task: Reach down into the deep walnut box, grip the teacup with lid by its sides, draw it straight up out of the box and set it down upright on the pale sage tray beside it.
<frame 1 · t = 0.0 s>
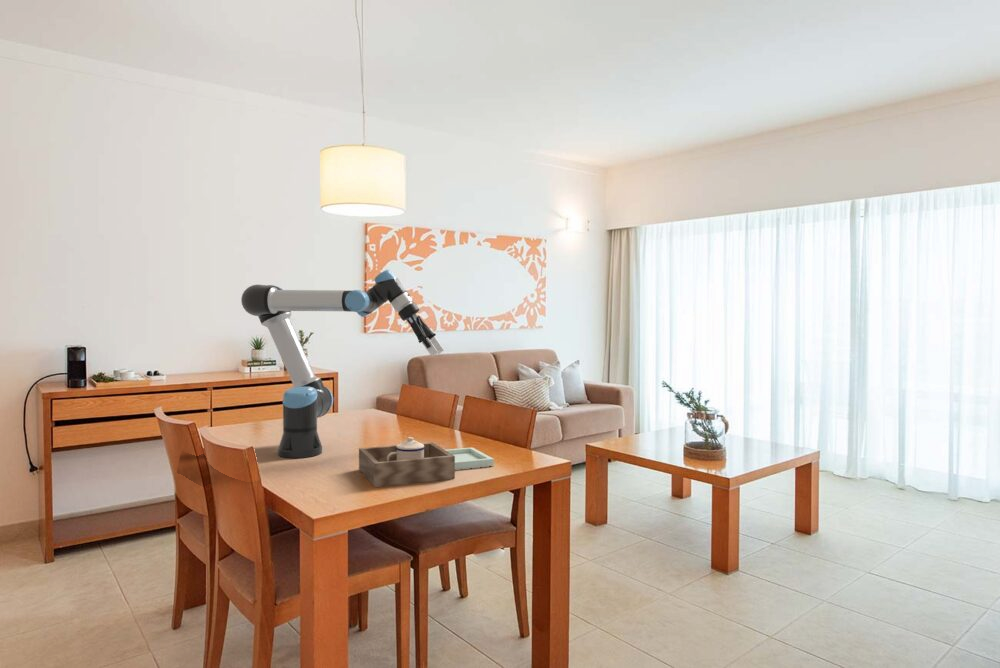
hand: (438, 353, 237), 36 cm above the table, tool tilted 35°, fingers open, 13 cm apart
deep box: (405, 474, 201), on the table
teacup with lid: (405, 474, 201), resting in deep box
tray: (461, 462, 218), on the table
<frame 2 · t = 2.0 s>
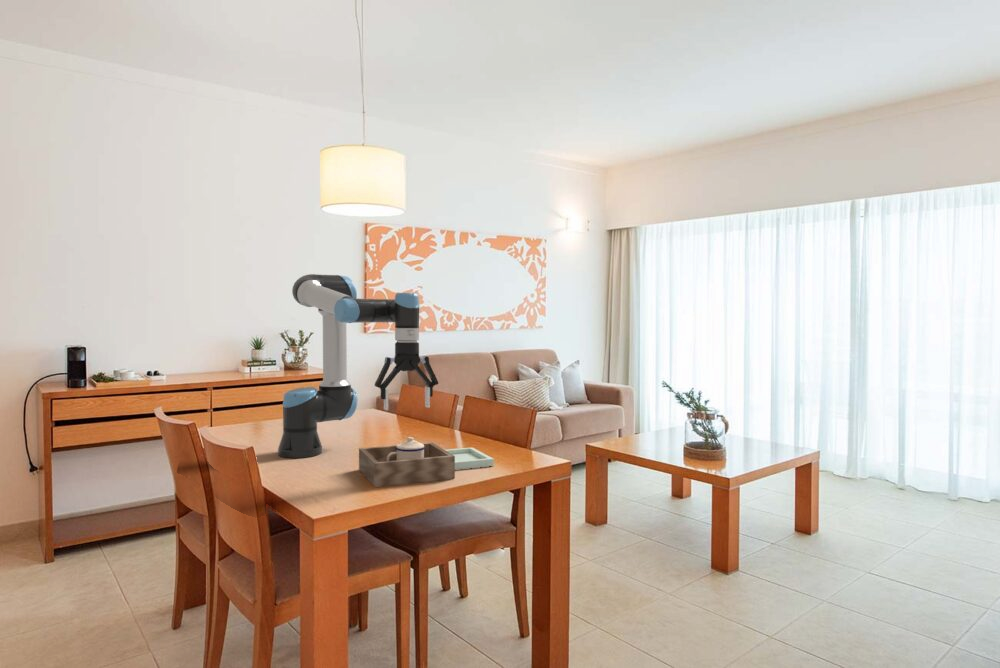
hand: (407, 408, 201), 21 cm above the table, tool pointing down, fingers open, 13 cm apart
nothing on the table moved.
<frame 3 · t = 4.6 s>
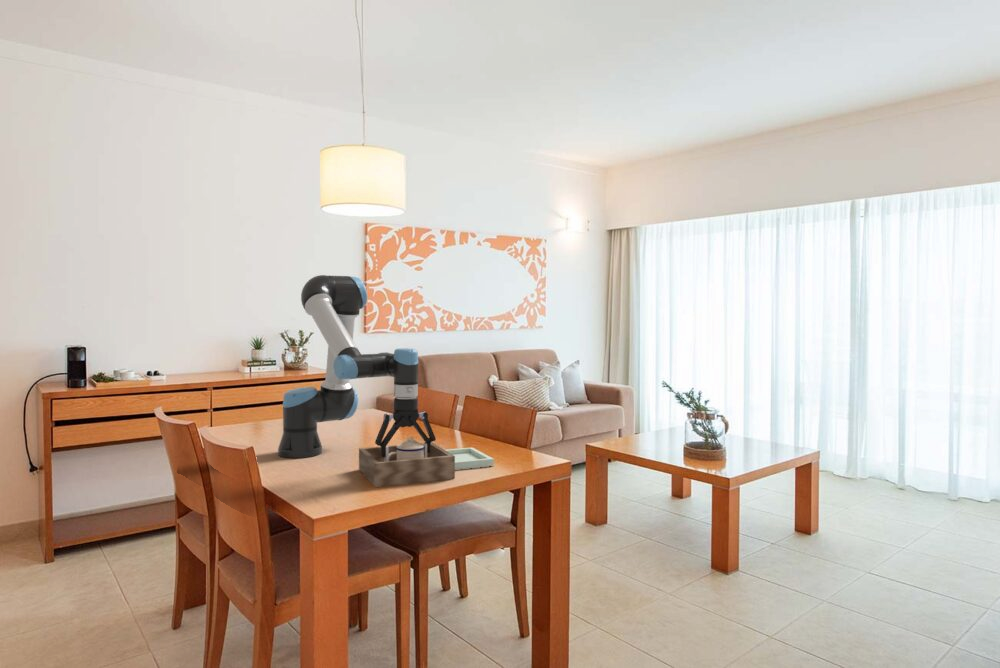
hand: (405, 465, 201), 3 cm above the table, tool pointing down, fingers closed on teacup with lid, 12 cm apart
teacup with lid: (405, 474, 201), resting in deep box, touching gripper
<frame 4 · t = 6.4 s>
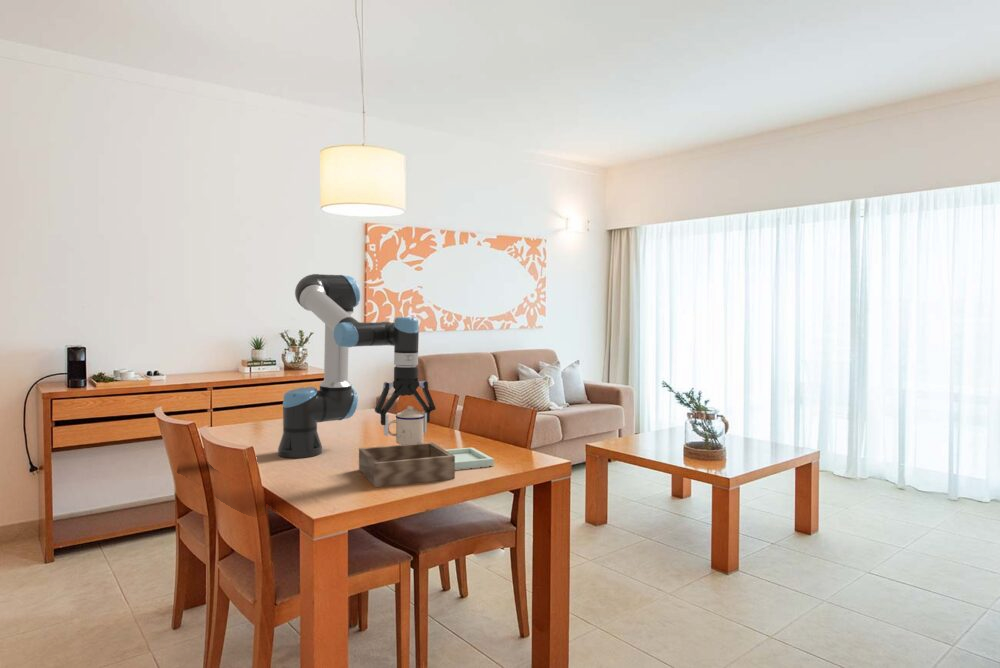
hand: (405, 433, 201), 13 cm above the table, tool pointing down, fingers closed on teacup with lid, 12 cm apart
teacup with lid: (405, 443, 201), point 10 cm above the table, touching gripper
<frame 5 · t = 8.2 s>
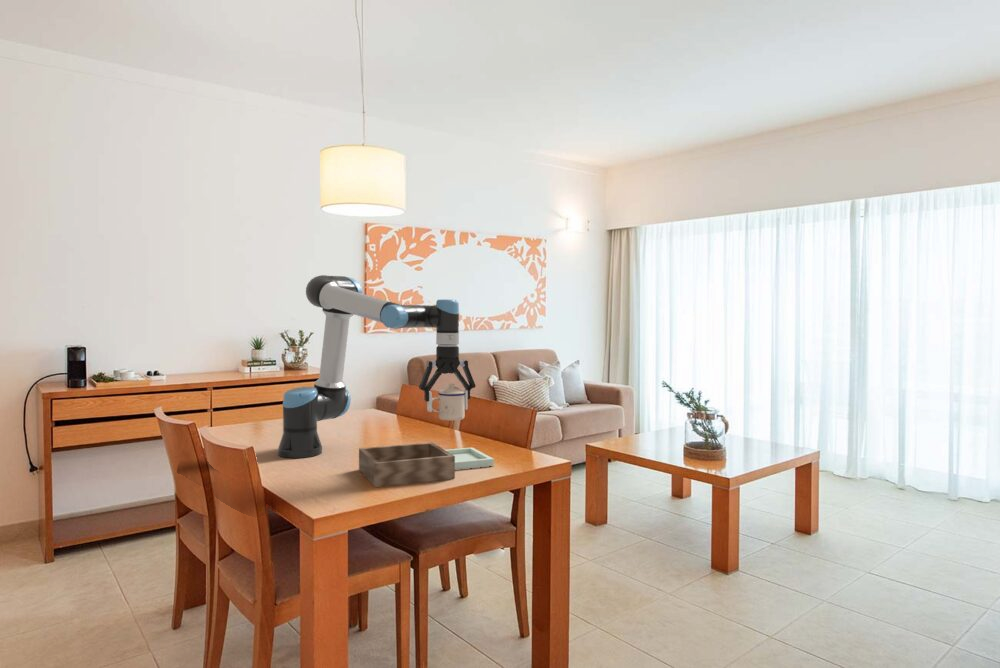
hand: (447, 410, 212), 19 cm above the table, tool pointing down, fingers closed on teacup with lid, 12 cm apart
teacup with lid: (447, 419, 212), point 16 cm above the table, touching gripper
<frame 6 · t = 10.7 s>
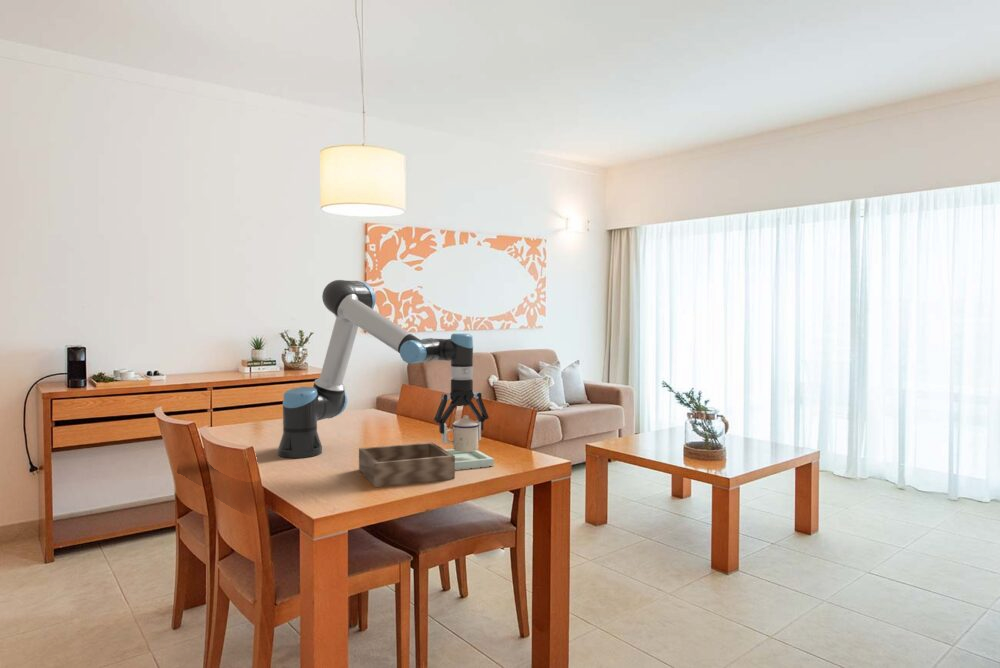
hand: (461, 441, 217), 7 cm above the table, tool pointing down, fingers closed on teacup with lid, 12 cm apart
teacup with lid: (461, 450, 217), point 4 cm above the table, touching gripper
when the fingers open (5 cm above the table, at t = 12.2 s): teacup with lid drops 1 cm, resting on tray.
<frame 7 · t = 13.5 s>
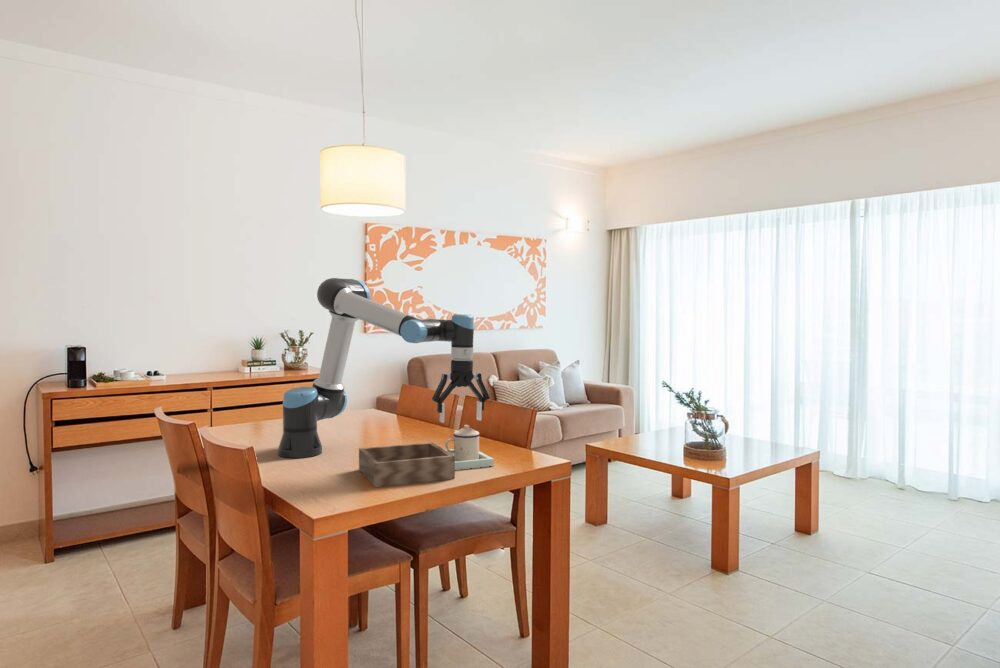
hand: (460, 421, 217), 14 cm above the table, tool pointing down, fingers open, 13 cm apart
teacup with lid: (462, 459, 218), point 1 cm above the table, touching tray
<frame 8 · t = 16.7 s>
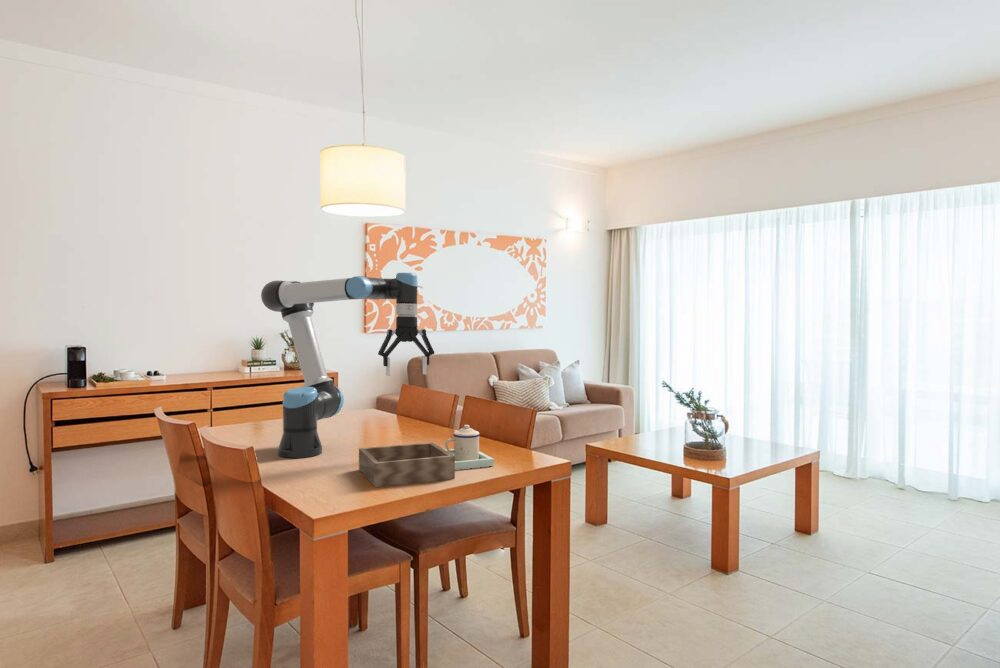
hand: (406, 374, 228), 29 cm above the table, tool pointing down, fingers open, 13 cm apart
nothing on the table moved.
at the end: teacup with lid inside the target area on the tray (0.4 cm from its centre), point 0.8 cm above the tray's base; teacup with lid tilted 0°; the gripper is holding nothing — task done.
